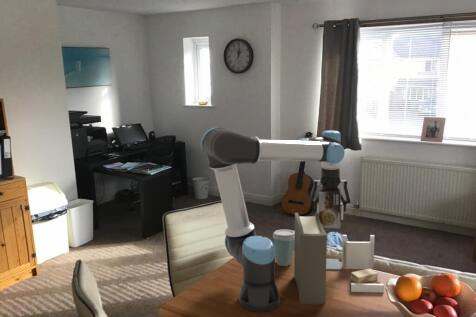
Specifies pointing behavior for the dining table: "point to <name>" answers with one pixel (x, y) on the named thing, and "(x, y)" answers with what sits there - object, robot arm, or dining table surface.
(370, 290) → the rack
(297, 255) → the book
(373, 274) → the offcut upper
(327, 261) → the mat
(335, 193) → the coffee box
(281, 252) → the disposable coffee cup
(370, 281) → the offcut lower
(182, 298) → the dining table surface
